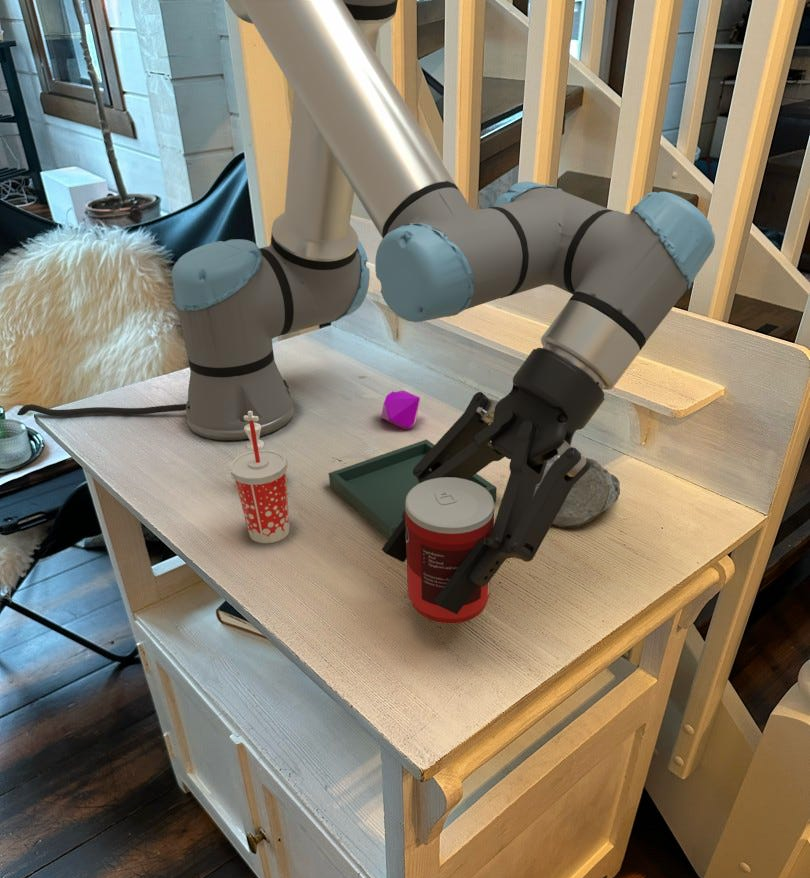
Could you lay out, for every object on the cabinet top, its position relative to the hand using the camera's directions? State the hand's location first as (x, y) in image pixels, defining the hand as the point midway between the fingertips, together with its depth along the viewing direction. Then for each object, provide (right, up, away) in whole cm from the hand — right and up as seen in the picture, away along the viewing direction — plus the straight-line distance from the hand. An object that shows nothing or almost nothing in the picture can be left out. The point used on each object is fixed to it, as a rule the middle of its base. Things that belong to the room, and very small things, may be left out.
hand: (418, 580), depth 68 cm
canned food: (+3, -2, +4) cm, 5 cm away
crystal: (-2, +20, +39) cm, 44 cm away
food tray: (0, +9, +24) cm, 26 cm away
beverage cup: (-17, +4, +19) cm, 25 cm away
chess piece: (-19, +10, +27) cm, 35 cm away
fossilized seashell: (+18, +8, +21) cm, 29 cm away
